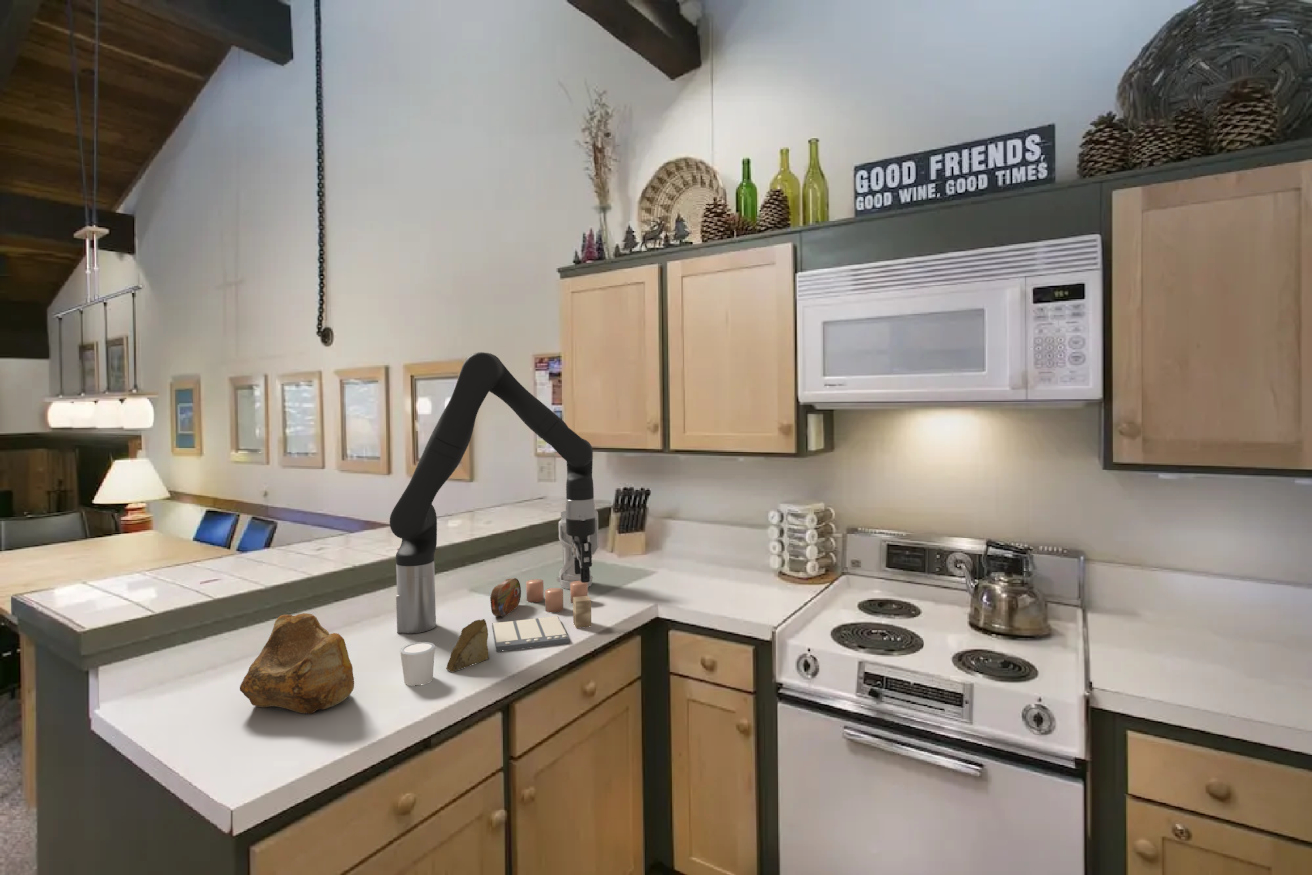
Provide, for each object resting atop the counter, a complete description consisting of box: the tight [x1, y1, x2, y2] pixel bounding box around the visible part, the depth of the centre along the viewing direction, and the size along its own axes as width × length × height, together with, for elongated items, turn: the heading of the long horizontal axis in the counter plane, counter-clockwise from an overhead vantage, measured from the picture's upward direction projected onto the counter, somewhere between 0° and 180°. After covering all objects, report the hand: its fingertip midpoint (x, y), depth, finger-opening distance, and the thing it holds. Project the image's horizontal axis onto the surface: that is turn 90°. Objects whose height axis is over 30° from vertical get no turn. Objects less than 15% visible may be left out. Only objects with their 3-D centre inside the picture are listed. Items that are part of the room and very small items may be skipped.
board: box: [491, 615, 570, 652], centre depth 159 cm, size 17×17×1 cm
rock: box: [445, 618, 489, 673], centre depth 142 cm, size 11×9×10 cm
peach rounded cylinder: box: [525, 578, 545, 603], centre depth 188 cm, size 5×5×6 cm
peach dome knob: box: [544, 587, 564, 613], centre depth 179 cm, size 5×5×6 cm
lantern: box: [556, 507, 600, 590], centre depth 202 cm, size 13×10×25 cm
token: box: [572, 595, 592, 629], centre depth 166 cm, size 4×4×7 cm
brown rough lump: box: [239, 612, 355, 715], centre depth 124 cm, size 23×17×15 cm
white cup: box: [399, 641, 436, 687], centre depth 134 cm, size 7×7×7 cm
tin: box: [490, 577, 522, 618], centre depth 178 cm, size 15×3×8 cm, turn 168°
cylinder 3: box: [569, 581, 589, 604], centre depth 186 cm, size 5×5×6 cm
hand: (582, 577), depth 166 cm, fingers open, 8 cm apart
